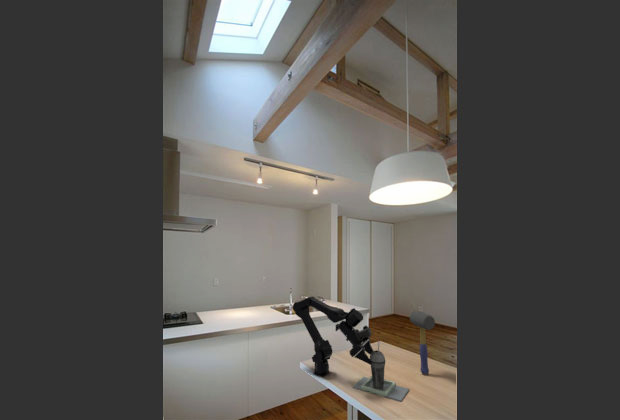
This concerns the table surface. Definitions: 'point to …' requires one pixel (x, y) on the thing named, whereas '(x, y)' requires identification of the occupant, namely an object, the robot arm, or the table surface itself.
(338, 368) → the table surface
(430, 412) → the table surface
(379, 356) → the beverage cup
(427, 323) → the rubber mallet
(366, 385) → the socket board
